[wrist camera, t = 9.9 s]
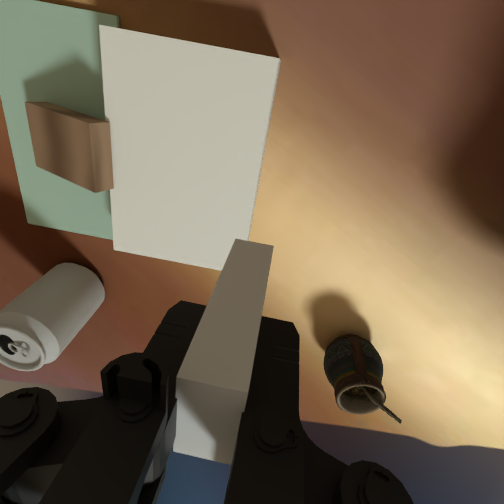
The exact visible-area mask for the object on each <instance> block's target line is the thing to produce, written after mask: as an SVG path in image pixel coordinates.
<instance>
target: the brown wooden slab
mask: <svg viewBox="0 0 504 504" xmlns="http://www.w3.org/2000/svg"><path fill="white" fill-rule="evenodd" d="M25 107H26V113H27V119H28V124H29V130H30V135H31V141H32V146H33V152H34V157H35V163H36V166H37V167H39V168H41V169H44V170H46V171H48V172H50V173H52V174H55V175H57V176H59V177H61V178H63V179H65V180H68V181H70V182H72V183H74V184H76V185H79V186H81V187H83V188H85V189H87V190H90V191H92V192H94V193H98V192H102V191H106V190H110V189H114V183H113V167H112V150H111V133H110V122H107V121H104V120H101V119H98V118H95V117H92V116H89V115H86V114H82V113H79V112H76V111H73V110H70V109H67V108H64V107H61V106H58V105H55V104H52V103H48V102H25Z"/></svg>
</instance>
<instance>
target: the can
mask: <svg viewBox="0 0 504 504" xmlns="http://www.w3.org/2000/svg"><path fill="white" fill-rule="evenodd" d="M104 297H105V291H104V287H103V285H102V283H101V281H100V280H99V278H98V276H97V275H96V274H95V273H93V272H92V271H91V270H89V269H88V268H86V267H83V266H81V265H78V264H74V263H62V264H58V265H56V266H55V267H53V268H52V269H51V270H50V271H48V272H47V273H46V274H45V275H43V276H42V277H41V278H40V279H39V280H37V281H36V282H35V283H34V284H32V285H31V286H30V287H29V288H27V289H26V290H25V291H24V292H22V293H21V294H20V295H19V296H18V297H16V298H15V299H14V300H13V301H11V302H10V303H9V304H8V305H6V306H5V307H4V308H3V309H1V310H0V363H2V364H4V365H6V366H8V367H10V368H13V369H16V370H20V371H34V370H37V369H39V368H41V367H42V366H43V364H48V363H51V362H52V361H54V360H56V359H57V357H58V356H59V355H60V354H61V352H62V351H63V350H64V349H65V348H66V346H67V345H68V344H69V343H70V342H71V340H72V339H73V338H74V337H75V336H76V334H77V333H78V332H79V331H80V329H81V328H82V327H83V326H84V325H85V323H86V322H87V321H88V320H89V319H90V317H91V316H92V315H93V314H94V312H95V311H96V310H97V309H98V308H99V306H100V305H101V304H102V302H103V301H104Z"/></svg>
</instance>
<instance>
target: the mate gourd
mask: <svg viewBox="0 0 504 504" xmlns="http://www.w3.org/2000/svg"><path fill="white" fill-rule="evenodd" d="M324 370H325V374H326V376H327V378H328V380H329V382H330V383H331V385H332V386H333V387H334V390H335V391H334V394H335V398H336V403H337V405H338V407H339V408H340V409H342V410H343V411H345V412H348V413H351V414H358V415H361V414H368V413H372V412H374V411H376V410H378V409H379V408H381V409H382V410H383V411H385V412H386V413H387V414H388V415H390V416H391V417H393V418H394V419H395V420H397V421H398V422H399V423H401V421H402V420H401V419H399V418H398V417H397V416H396V415H395V414H394V413H392V411H390V410H389V409H388V408H387V407H385V406H384V405H383V404H384V402H385V400H386V394H385V392H384V389H383V386H382V384H381V381H382V376H383V364H382V359H381V357H380V355H379V353H378V352H377V350H376V349H375V348H374V346H373V345H372V344H371V343H370V342H369V341H367V340H366V339H363V338H361V337H358V336H355V335H351V336H350V335H349V334H348V335H345V336H342V337H340V338H337V339H335V340H334V341H333V342H331V343H330V345H329V346H328V347H327V349H326V352H325V357H324Z"/></svg>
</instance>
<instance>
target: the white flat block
mask: <svg viewBox="0 0 504 504" xmlns="http://www.w3.org/2000/svg"><path fill="white" fill-rule="evenodd" d="M99 32H100V47H101V62H102V77H103V93H104V108H105V121H107V122H110V133H111V150H112V167H113V183H114V189H110V199H111V214H112V229H113V245H114V250H118V251H123V252H128V253H133V254H138V255H144V256H149V257H154V258H159V259H164V260H169V261H174V262H180V263H185V264H190V265H195V266H200V267H205V268H210V269H216V270H221V271H222V269H223V267H224V264H225V262H226V260H227V257H228V255H229V253H230V250H231V248H232V245H233V243H234V241H235V238H236V239H241V240H246V241H249V237H250V231H251V225H252V220H253V214H254V208H255V203H256V197H257V192H258V186H259V180H260V175H261V169H262V163H263V158H264V152H265V147H266V141H267V135H268V130H269V124H270V118H271V113H272V107H273V102H274V96H275V90H276V85H277V79H278V73H279V68H280V62H281V60H280V58H275V57H270V56H265V55H259V54H254V53H249V52H243V51H238V50H233V49H227V48H222V47H216V46H211V45H206V44H200V43H195V42H190V41H184V40H179V39H174V38H168V37H163V36H158V35H152V34H147V33H142V32H136V31H131V30H125V29H120V28H115V27H109V26H104V25H99Z"/></svg>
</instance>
